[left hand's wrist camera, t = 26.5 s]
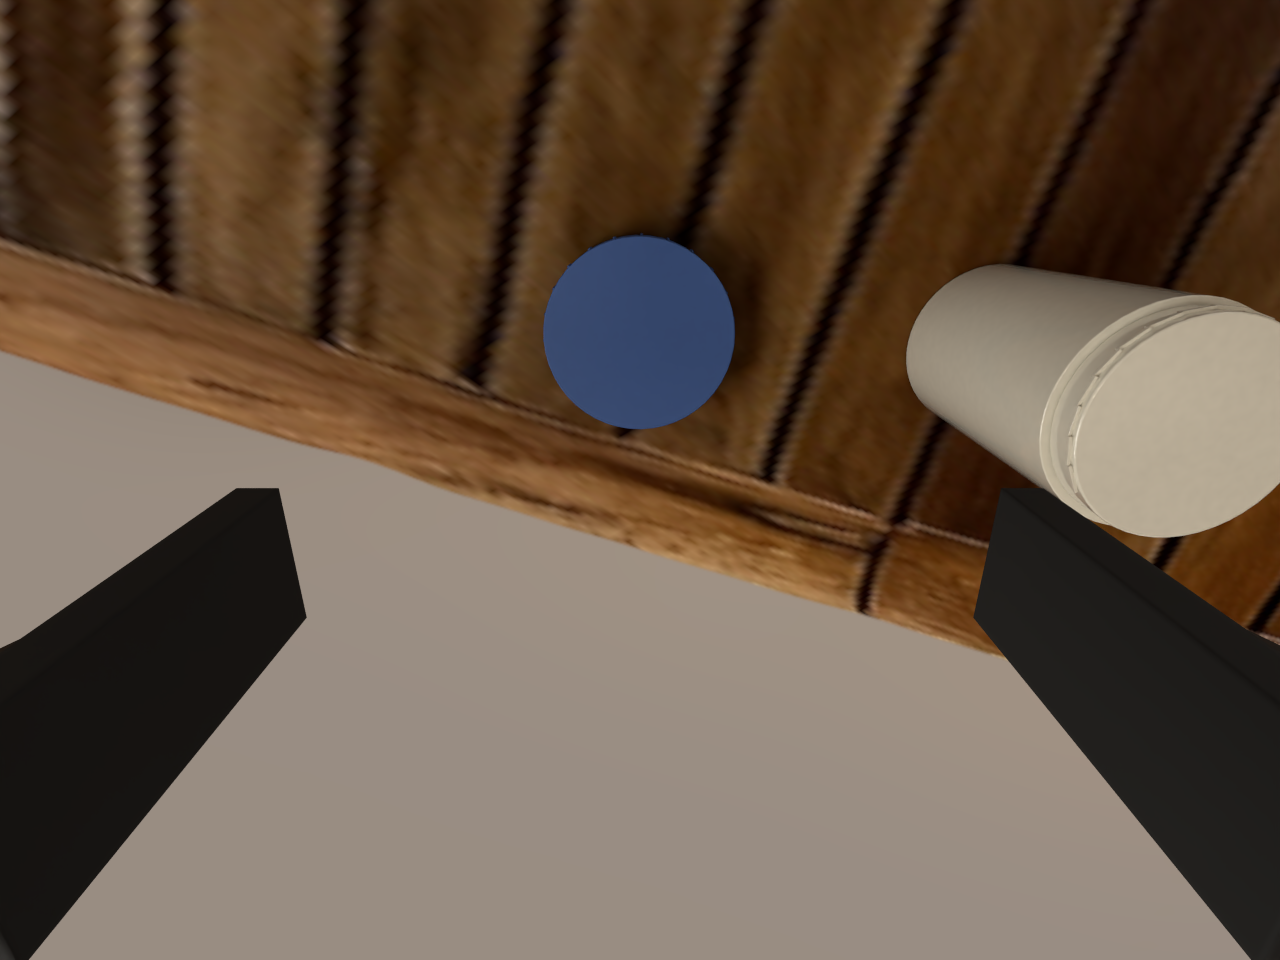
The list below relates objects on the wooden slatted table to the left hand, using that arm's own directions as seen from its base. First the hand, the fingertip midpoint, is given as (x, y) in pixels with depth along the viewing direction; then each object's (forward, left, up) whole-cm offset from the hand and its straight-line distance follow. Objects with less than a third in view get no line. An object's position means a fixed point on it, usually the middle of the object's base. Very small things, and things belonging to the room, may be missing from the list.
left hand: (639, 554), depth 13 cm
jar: (-3, +19, -26) cm, 32 cm away
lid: (0, 0, -24) cm, 24 cm away
